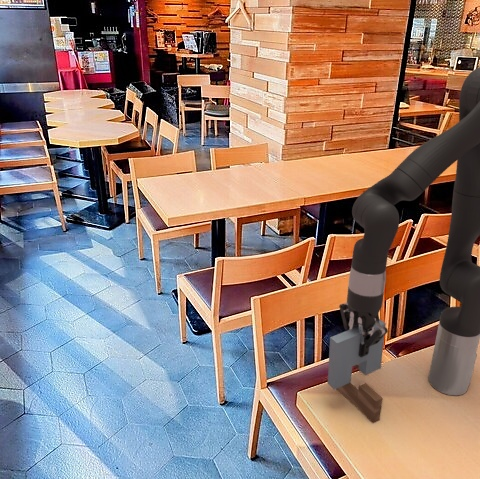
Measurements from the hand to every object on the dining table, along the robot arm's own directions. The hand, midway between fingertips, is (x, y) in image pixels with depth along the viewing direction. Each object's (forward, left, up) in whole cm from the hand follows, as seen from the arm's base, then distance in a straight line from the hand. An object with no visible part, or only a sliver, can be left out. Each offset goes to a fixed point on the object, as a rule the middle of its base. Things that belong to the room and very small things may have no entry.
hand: (358, 351), depth 105 cm
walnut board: (0, 0, -14) cm, 14 cm away
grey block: (0, 0, -7) cm, 7 cm away
